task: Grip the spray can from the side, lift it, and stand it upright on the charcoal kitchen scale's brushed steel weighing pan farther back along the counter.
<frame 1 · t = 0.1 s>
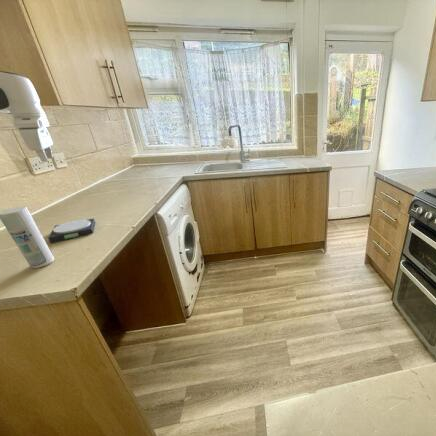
hand: (48, 159, 96), 31 cm above the countertop, tool pointing down, fingers open, 8 cm apart
spray can: (43, 263, 85), on the countertop
kitchen scale: (74, 232, 107), on the countertop
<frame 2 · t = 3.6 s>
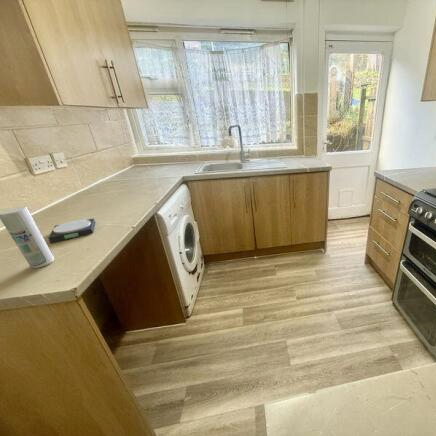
nothing on the countertop moved.
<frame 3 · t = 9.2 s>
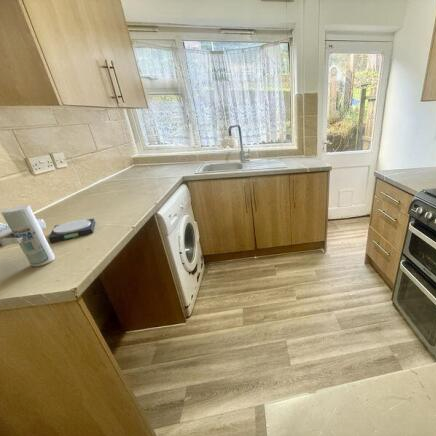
hand: (30, 235, 80), 11 cm above the countertop, tool horizontal, fingers closed on spray can, 5 cm apart
spray can: (43, 261, 86), on the countertop, touching gripper
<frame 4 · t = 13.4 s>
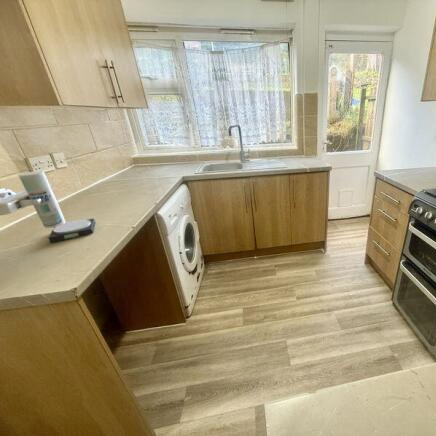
hand: (46, 198, 89), 20 cm above the countertop, tool horizontal, fingers closed on spray can, 5 cm apart
spray can: (55, 224, 94), point 9 cm above the countertop, touching gripper
when the fingers open (14 cm above the countertop, at t = 17.7 s): spray can stays where it is, resting on kitchen scale.
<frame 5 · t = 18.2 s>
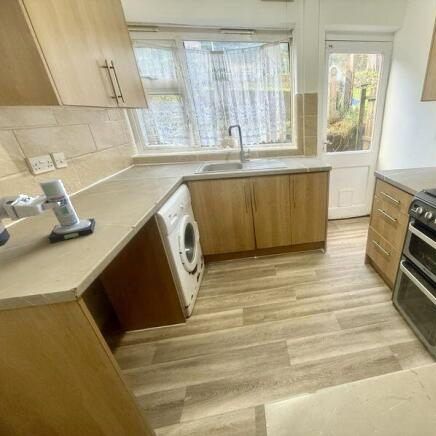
hand: (64, 200, 102), 15 cm above the countertop, tool horizontal, fingers open, 8 cm apart
spray can: (71, 225, 107), point 3 cm above the countertop, touching kitchen scale
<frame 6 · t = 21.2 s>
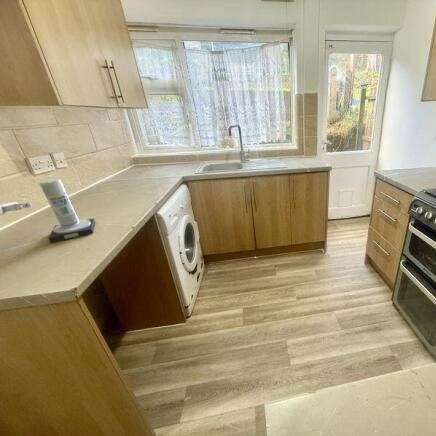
hand: (26, 206, 99), 14 cm above the countertop, tool horizontal, fingers open, 8 cm apart
nothing on the countertop moved.
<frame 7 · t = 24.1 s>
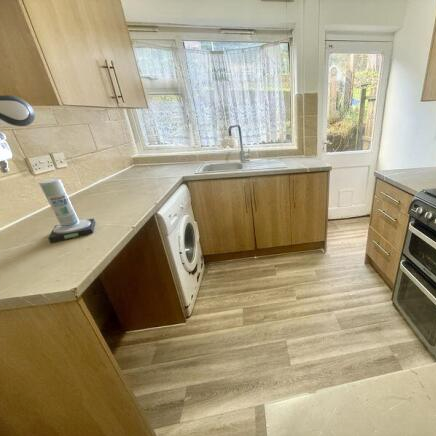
nothing on the countertop moved.
at the end: spray can inside the target area on the kitchen scale (1.2 cm from its centre), point 3.1 cm above the kitchen scale's base; spray can tilted 1°; the gripper is holding nothing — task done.
